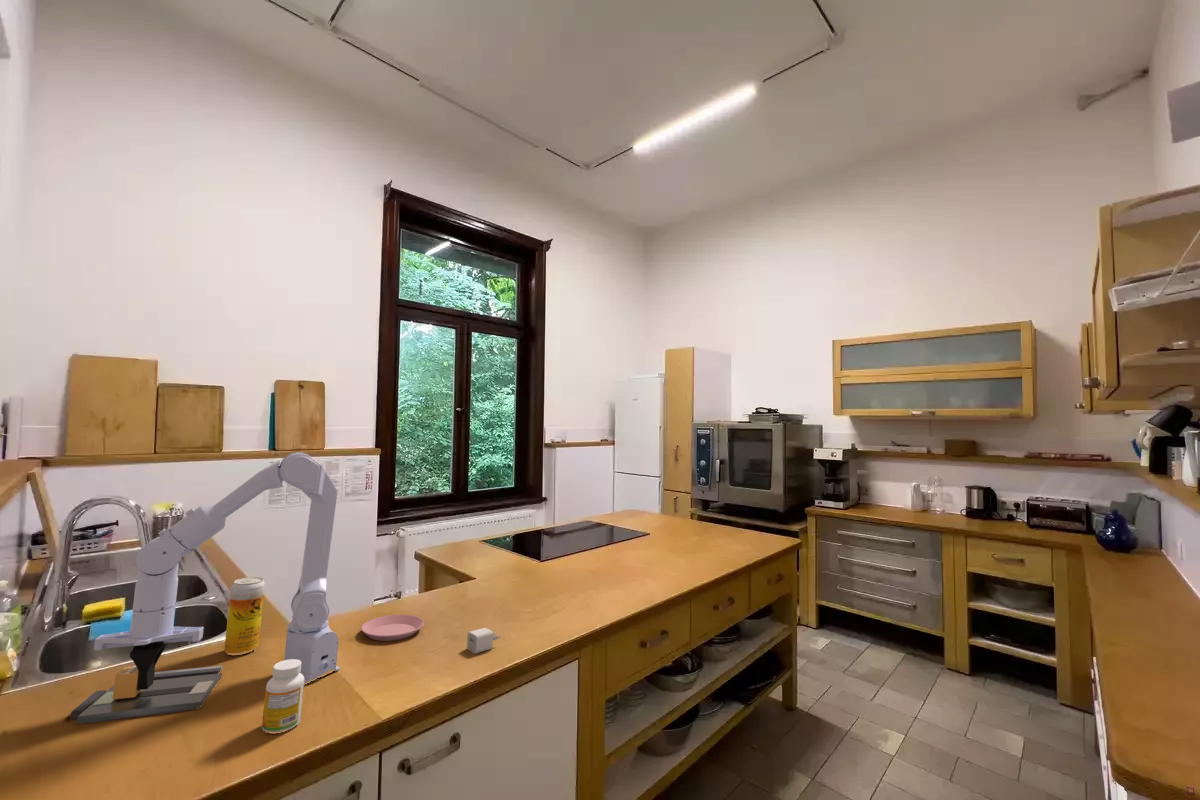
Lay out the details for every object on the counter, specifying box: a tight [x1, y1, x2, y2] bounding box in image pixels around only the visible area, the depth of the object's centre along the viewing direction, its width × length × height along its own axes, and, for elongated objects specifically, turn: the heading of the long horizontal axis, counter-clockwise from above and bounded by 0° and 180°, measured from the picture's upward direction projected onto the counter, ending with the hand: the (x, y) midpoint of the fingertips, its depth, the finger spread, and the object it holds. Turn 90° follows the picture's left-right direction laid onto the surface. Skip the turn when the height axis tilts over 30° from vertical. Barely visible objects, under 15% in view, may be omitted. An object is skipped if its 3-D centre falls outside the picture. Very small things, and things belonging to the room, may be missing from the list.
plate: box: [360, 614, 425, 642], centre depth 122 cm, size 14×14×2 cm
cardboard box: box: [112, 665, 142, 700], centre depth 86 cm, size 3×3×4 cm
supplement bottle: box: [261, 659, 305, 732], centre depth 81 cm, size 5×5×10 cm
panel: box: [76, 672, 223, 725], centre depth 87 cm, size 16×11×1 cm
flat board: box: [70, 665, 224, 720], centre depth 89 cm, size 17×13×1 cm
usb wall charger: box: [466, 627, 501, 655], centre depth 115 cm, size 4×7×4 cm, turn 135°
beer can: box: [223, 576, 266, 654], centre depth 108 cm, size 6×6×15 cm
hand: (145, 687), depth 86 cm, fingers closed
